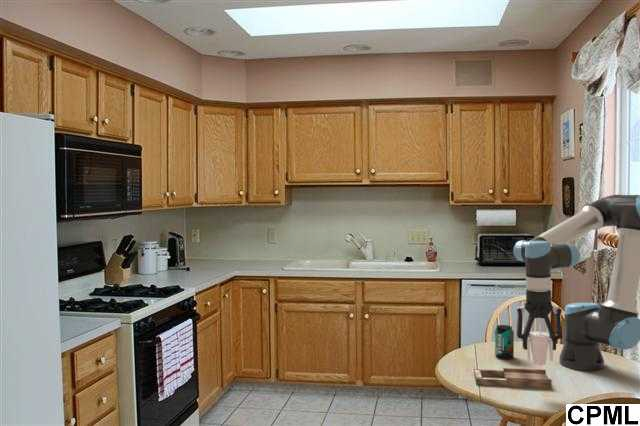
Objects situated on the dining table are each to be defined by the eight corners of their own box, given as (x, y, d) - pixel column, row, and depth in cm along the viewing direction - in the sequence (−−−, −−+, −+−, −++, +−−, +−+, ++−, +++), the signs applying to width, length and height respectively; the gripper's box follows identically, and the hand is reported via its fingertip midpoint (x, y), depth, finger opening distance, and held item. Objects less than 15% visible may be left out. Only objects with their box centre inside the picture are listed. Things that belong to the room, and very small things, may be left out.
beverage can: (517, 358, 213) (517, 328, 212) (501, 360, 211) (501, 329, 210) (507, 353, 219) (507, 323, 219) (491, 355, 218) (491, 325, 217)
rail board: (545, 378, 191) (545, 369, 191) (551, 388, 182) (551, 379, 182) (474, 374, 196) (474, 366, 196) (476, 384, 187) (476, 375, 186)
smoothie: (539, 367, 174) (538, 324, 173) (524, 362, 180) (523, 320, 179) (554, 364, 176) (554, 321, 175) (539, 358, 182) (538, 317, 181)
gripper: (567, 286, 178) (568, 356, 180) (505, 286, 182) (506, 354, 184) (573, 291, 171) (574, 364, 172) (508, 291, 175) (510, 362, 176)
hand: (539, 359), depth 178 cm, fingers closed on smoothie, 6 cm apart
